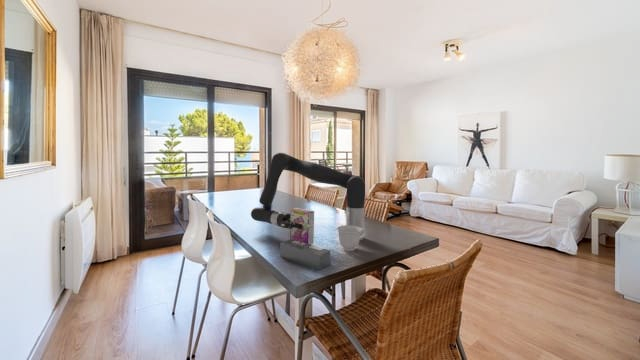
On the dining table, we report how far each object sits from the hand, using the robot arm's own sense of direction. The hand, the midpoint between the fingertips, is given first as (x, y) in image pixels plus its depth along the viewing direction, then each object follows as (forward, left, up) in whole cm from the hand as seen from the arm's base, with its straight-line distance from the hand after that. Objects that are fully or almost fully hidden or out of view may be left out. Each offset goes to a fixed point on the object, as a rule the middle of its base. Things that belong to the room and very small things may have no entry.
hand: (306, 225), depth 134 cm
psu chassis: (+13, +11, -10) cm, 20 cm away
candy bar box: (0, -3, -9) cm, 10 cm away
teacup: (-12, +19, -11) cm, 24 cm away
